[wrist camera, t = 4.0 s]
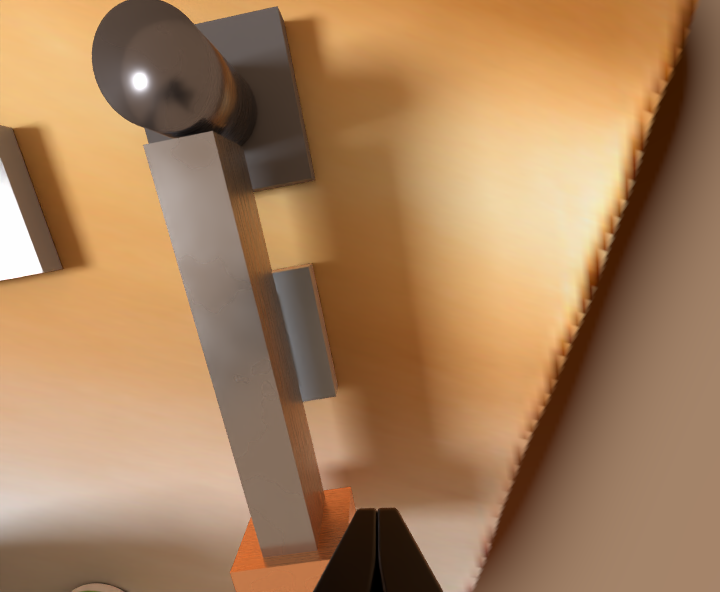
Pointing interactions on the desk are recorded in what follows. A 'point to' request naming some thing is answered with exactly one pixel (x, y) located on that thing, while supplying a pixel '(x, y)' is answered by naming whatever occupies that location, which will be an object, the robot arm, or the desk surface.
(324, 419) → the desk surface
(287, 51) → the pivot base
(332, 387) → the label tile
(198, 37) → the swing arm
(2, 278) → the label tile
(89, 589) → the supplement bottle
